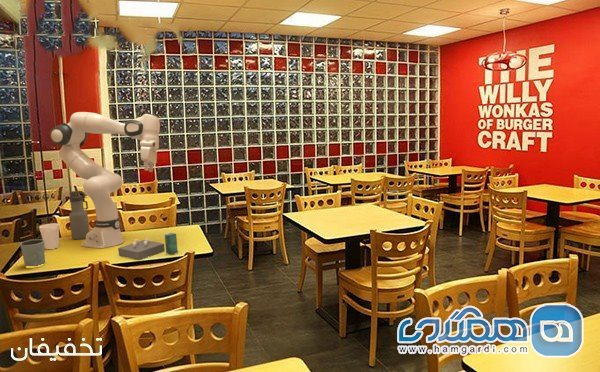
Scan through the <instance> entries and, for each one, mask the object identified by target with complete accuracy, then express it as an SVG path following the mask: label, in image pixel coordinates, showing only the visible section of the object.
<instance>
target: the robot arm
mask: <svg viewBox="0 0 600 372" xmlns="http://www.w3.org/2000/svg"><path fill="white" fill-rule="evenodd" d="M160 123H161V122H160V117H158V116H157V115H154V114H151V113H144V114H143V115H142V116H140V117H137V118H135V119H134V118H133V119H128V120H126V122H125V123H124V122H120V121H116V120H114V119H112V118H110V117H107V116H105V115H103V114H99V113H96V112H89V111H88V112H87V111H78V112H74V113H72V114H71V115H70V118H69V122H68V123H67V122H63V123H61V124H58V125H56V126H54V127H53V128H52V129H51V130H50V132H49V138H50V140H51V142H52V143H54V144H55V145H58V146H61V147H60V149H59V150H58V151H59V152H58V155H59V157H60V158H61V160H62V161H63V162H64V164H65V165H66V166H67V167H68V168H70V169H71V170H72V172H74V173H75V174H76V175H77V177H79V178H81V179H84V180H85V181H84V183H83V185H82V189H83V192H84V193H85V195H86V196H88V197H89V198H90V199H91V201H92V203H93V206H94V210H95V216H96V220H94V221H93V222H92V225H94V227H93V228H91V229H89V232H88V233H87V234H86V238H85V241H84V242H82V243H81V247H86V248H94V249H103V248H104V249H105V248H109V247H115V246H118V245H121V244H123V243H125V240H124V237H123V235H122V232H121V227H120V226H121V223H120V222H121V221H120V217H119V212H118V205H117V203H116V202H115V201H114V200H113V199H112V197H111V193H114V192H116V191H118V190H119V189H121V188H122V186H123V179H122V176H121V175H120V174H118V173H115V172H112V171H110V170H109V169H106V168H105V167H103V166H101V165H99V164H98V163H96V161H94V160H93V159H92V158H91V157H89V156H88V155H87V154H86V153H85V152H84V151H83V150H82V149H81V147H83V146H85V145H84V144H85V142H86V141H87V139H88V136H89V135H88V133H89V134H98V135H103V134H104V135H105V134H108V135H110V134H111V135H112V134H113V135H123V136H128V137H129V138H132V139H134V140H138V141H139V146H140V160H141V161H143V167H144V168H143V169H144V171H148V172H150V173H153V170H154V166H155V165H156V164H157V159H158V151H157V150H158V149H159V148H160V138H159V136H160V135H159V134H160V133H161V132H160V131H161V130H160V129H161V127H160V126H161V124H160Z"/></svg>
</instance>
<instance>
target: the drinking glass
mask: <svg viewBox="0 0 600 372" xmlns="http://www.w3.org/2000/svg"><path fill="white" fill-rule="evenodd" d="M20 249H21V254H22V258H23V263H24V267H25V266H38V265H41V264H44V263H45V264H46V255H45V253H46V252H45V250H46V248H45V245H44V240H43V238H36V239H28V240H24V241H22V242H20Z"/></svg>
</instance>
